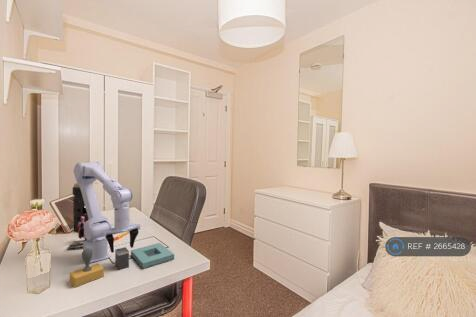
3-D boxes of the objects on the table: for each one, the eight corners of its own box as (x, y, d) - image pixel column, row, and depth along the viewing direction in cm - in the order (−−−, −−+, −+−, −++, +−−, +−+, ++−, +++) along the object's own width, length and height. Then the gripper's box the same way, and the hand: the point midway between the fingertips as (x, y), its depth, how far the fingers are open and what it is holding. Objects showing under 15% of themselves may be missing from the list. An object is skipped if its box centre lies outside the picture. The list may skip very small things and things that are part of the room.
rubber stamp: (98, 271, 97) (98, 242, 96) (104, 276, 93) (104, 246, 92) (69, 281, 89) (69, 250, 89) (74, 288, 85) (74, 255, 85)
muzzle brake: (69, 230, 141) (77, 234, 135) (69, 183, 140) (76, 185, 134) (87, 225, 149) (94, 229, 143) (86, 181, 148) (94, 183, 142)
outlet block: (143, 269, 99) (143, 263, 99) (130, 255, 111) (130, 250, 111) (174, 259, 108) (174, 254, 108) (159, 247, 120) (159, 242, 120)
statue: (74, 244, 125) (74, 215, 125) (94, 242, 127) (94, 214, 128) (66, 250, 114) (66, 219, 115) (88, 248, 117) (88, 217, 118)
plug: (118, 270, 98) (118, 253, 98) (115, 265, 102) (115, 249, 101) (129, 267, 101) (129, 251, 100) (125, 262, 104) (125, 247, 104)
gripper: (104, 223, 92) (105, 257, 93) (142, 216, 102) (142, 247, 102) (100, 219, 98) (101, 251, 98) (137, 213, 107) (137, 242, 108)
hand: (122, 249), depth 101 cm, fingers open, 7 cm apart
